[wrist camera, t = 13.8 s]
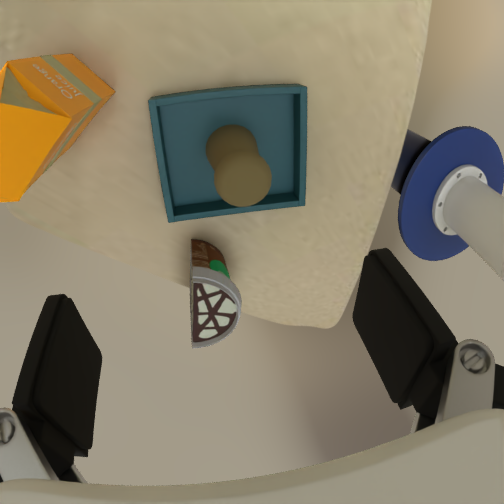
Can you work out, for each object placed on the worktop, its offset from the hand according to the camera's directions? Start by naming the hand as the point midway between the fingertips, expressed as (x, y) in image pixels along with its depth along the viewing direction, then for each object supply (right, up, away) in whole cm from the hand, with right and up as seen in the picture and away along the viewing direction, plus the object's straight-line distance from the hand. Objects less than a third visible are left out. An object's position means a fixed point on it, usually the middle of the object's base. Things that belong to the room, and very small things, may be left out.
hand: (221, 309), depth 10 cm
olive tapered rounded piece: (-1, +14, +27) cm, 30 cm away
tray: (-2, +14, +27) cm, 30 cm away
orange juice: (-20, +19, +20) cm, 34 cm away
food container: (-5, 0, +36) cm, 37 cm away
